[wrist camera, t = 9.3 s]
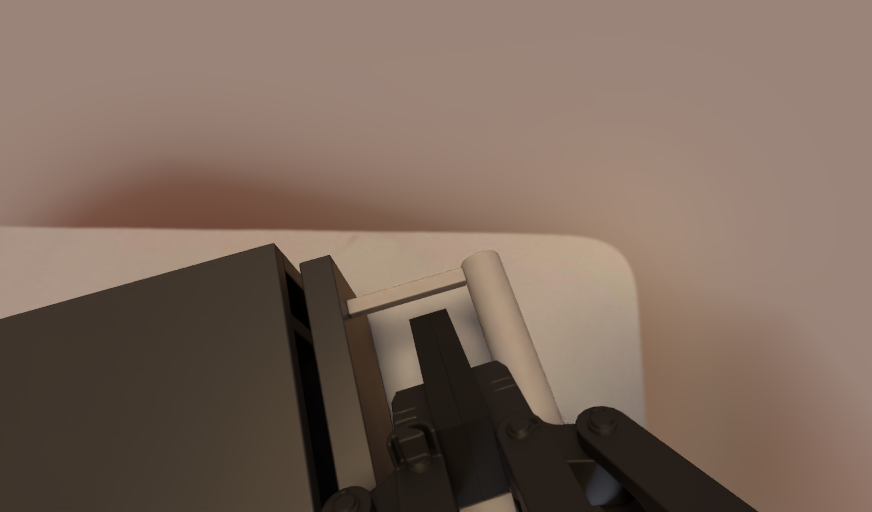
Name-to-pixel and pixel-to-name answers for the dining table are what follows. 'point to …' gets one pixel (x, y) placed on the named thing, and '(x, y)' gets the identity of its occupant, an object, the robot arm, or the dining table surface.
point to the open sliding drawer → (360, 376)
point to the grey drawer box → (161, 395)
